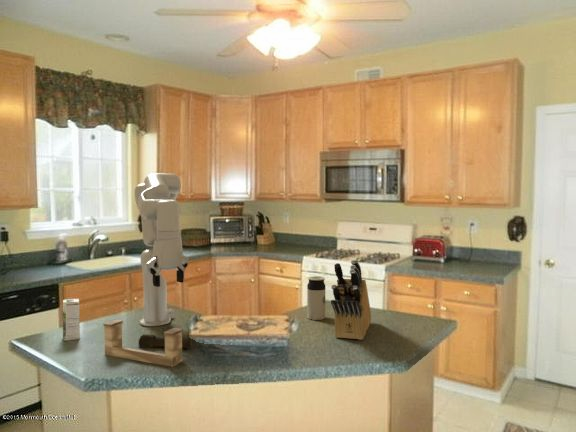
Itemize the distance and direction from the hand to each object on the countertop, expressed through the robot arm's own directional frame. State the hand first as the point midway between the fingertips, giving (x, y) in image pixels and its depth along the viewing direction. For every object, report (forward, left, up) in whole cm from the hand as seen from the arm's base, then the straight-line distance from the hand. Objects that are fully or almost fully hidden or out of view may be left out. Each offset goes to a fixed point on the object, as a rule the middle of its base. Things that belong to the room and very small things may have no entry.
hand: (168, 284), depth 159 cm
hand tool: (0, -2, -24) cm, 24 cm away
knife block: (-42, +55, -23) cm, 73 cm away
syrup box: (+5, -42, -23) cm, 48 cm away
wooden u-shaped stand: (+11, -3, -23) cm, 26 cm away
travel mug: (-57, +35, -23) cm, 71 cm away
